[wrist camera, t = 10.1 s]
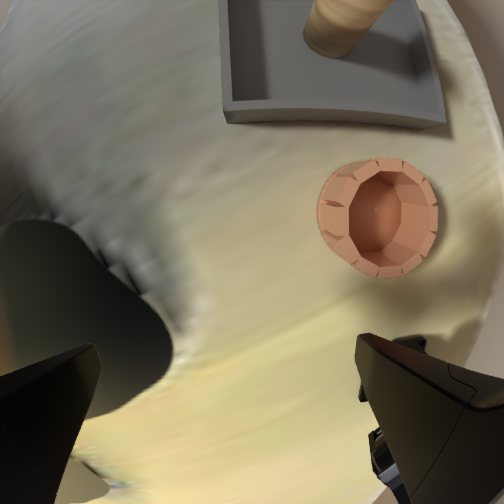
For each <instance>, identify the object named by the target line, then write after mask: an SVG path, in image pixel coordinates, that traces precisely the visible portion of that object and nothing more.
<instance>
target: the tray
mask: <svg viewBox="0 0 504 504" xmlns="http://www.w3.org/2000/svg"><path fill="white" fill-rule="evenodd" d="M313 3H314V0H219V28H220V55H221V79H222V100H223V113H224V116H225V119H226V122H227V123H240V122H258V121H294V120H307V121H343V122H360V123H373V124H384V125H393V126H402V127H410V128H417V129H426V128H430V127H434V126H438V125H441V124H445V123H447V120H446V113H445V107H444V101H443V95H442V90H441V85H440V80H439V75H438V71H437V67H436V63H435V59H434V55H433V51H432V48H431V44H430V41H429V37H428V34H427V31H426V28H425V25H424V22H423V19H422V16H421V13H420V10H419V8H418V5H417V3H416V0H394V1H393V2H392V3H391V4H390V6H389V7H388V8H387V9H386V10H385V11H384V12H383V14H382V15H381V16H380V17H379V18H378V19H377V21H376V22H375V23H374V24H373V25H372V27H371V28H370V29H369V30H368V31H367V33H366V34H365V35H364V36H363V37H362V39H361V40H360V41H359V42H358V43H357V45H356V46H355V47H354V48H353V49H352V51H351V52H350V53H349V54H348V55H347V56H345V57H342V58H336V59H335V58H327V57H324V56H321V55H319V54H317V53H315V52H314V51H313V50H312V49H310V48H309V46H308V45H307V44H306V42H305V40H304V37H303V30H304V27H305V24H306V21H307V19H308V16H309V13H310V11H311V8H312V6H313Z"/></svg>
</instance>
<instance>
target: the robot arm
mask: <svg viewBox="0 0 504 504" xmlns="http://www.w3.org/2000/svg"><path fill="white" fill-rule="evenodd" d="M421 342H422V343H421ZM425 346H426V339H425V338H424V337H419V338H414V339H407V340H402V341H397V342H392V341H389V340H387V339H384V338H382V337H379V336H377V335H374V334H371V333H364V334H359V335H358V336H357V341H356V349H355V362H356V366H357V369H358V372H359V375H360V378H361V386H360V391H359V396H358V399H359V401H360V402H367V401H368V402H369V404H370V406H371V408H372V411H373V413H374V415H375V417H376V419H377V422H378V424H379V427H378V428H377V429H376V430H375V431H372V432H371V433H370V434H368V437H369V445H370V453H371V462H372V468H373V472H374V473H375V474H376V475H377V478H378V479H379V480H380V481H381V482H382V483H383V484H385V485H386V486H388V487H389V488H390V489H391V490H392V492H393V493H394V496H395V497H396V499H397V501H398V503H399V504H504V379H502V378H498V377H494V376H489V375H485V374H481V373H478V372H475V371H471V370H468V369H465V368H462V367H459V366H456V365H453V364H451V363H448V364H447V362H445V361H442V360H440V359H437V358H434V357H431V356H429V355H428V354H427V353H426V352H425V351H424V350H425ZM101 371H102V362H101V359H100V356H99V353H98V350H97V348H96V346H95V345H94V344H82V345H80V346H78V347H75V348H72V349H70V350H67V351H65V352H62V353H60V354H57V355H55V356H52V357H50V358H47V359H44V360H42V361H39V362H37V363H34V364H32V365H29V366H26V367H24V368H21V369H19V370H16V371H13V372H12V373H8V374H5V375H3V376H0V504H54V502H55V499H56V496H57V494H56V493H57V492H58V489H59V486H60V483H61V480H62V477H63V474H64V471H65V468H66V466H67V463H68V460H69V457H70V455H71V452H72V449H73V447H74V444H75V442H76V439H77V436H78V434H79V431H80V429H81V426H82V424H83V422H84V419H85V417H86V414H87V412H88V410H89V407H90V405H91V402H92V400H93V397H94V393H95V390H96V387H97V384H98V381H99V378H100V374H101ZM363 397H364V398H363Z"/></svg>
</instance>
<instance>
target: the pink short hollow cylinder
mask: <svg viewBox="0 0 504 504" xmlns="http://www.w3.org/2000/svg"><path fill="white" fill-rule="evenodd" d="M423 178H424V174H422V173H421V172H420V171H419V170H417V169H416V168H415V167H413V166H412V165H411V164H410V163H408V162H407V161H402V159H390V158H376V159H370V160H365V161H360V162H355V163H351V164H348V165H345V166H343V167H342V168H340V169H338V170H337V171H336V172H334V173H333V174H332V175H331V176H330V178H329V179H328V180H327V181H326V183H325V185H324V186H323V188H322V191H321V193H320V196H319V200H318V205H317V220H318V225H319V229H320V232H321V235H322V237H323V239H324V240H325V242H326V243H327V245H328V246H329V247H330V248H331V249H332V250H333V251H334V252H335V253H336V254H337V255H339V256H340V257H341V258H343V259H344V260H345V261H346V262H348V263H349V264H350V265H351V266H353V267H354V268H356V269H358V270H359V271H361V272H363V273H365V274H367V275H369V276H371V277H372V278H375V277H376V278H377V279H387V278H396V277H401V273H402V274H403V275H406V274H407V273H408V272H410V271H411V270H412V269H414V268H415V267H416V266H417V265H419V264H420V263H421V262H423V260H422V258H421V256H423V257H425V258H426V256H427V254H428V252H429V250H430V248H431V246H432V244H433V242H434V240H435V238H436V235H435V234H434V233H432V232H431V231H438V206H435V205H433V204H434V203H436V202H437V200H436V197H435V195H434V193H433V190H432V188H431V186H430V183H429V181H428V179H423Z"/></svg>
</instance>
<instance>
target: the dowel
mask: <svg viewBox="0 0 504 504" xmlns="http://www.w3.org/2000/svg"><path fill="white" fill-rule="evenodd" d="M393 1H394V0H314V3H313V6H312V8H311V11H310V13H309V16H308V19H307V21H306V24H305V27H304V30H303V37H304V40H305V42H306V44H307V45H308V46H309V48H310V49H312V50H313V51H314V52H315V53H317V54H319V55H321V56H324V57H327V58H335V59H336V58H342V57H345V56H347V55H348V54H349V53H350V52H351V51H352V49H353V48H354V47H355V46H356V45H357V43H358V42H359V41H360V40H361V39H362V37H363V36H364V35H365V34H366V33H367V31H368V30H369V29H370V28H371V27H372V25H373V24H374V23H375V22H376V21H377V19H378V18H379V17H380V16H381V15H382V14H383V12H384V11H385V10H386V9H387V8H388V7H389V6H390V4H391V3H392V2H393Z"/></svg>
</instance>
